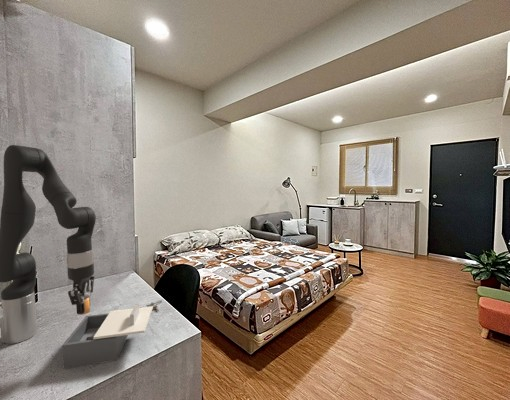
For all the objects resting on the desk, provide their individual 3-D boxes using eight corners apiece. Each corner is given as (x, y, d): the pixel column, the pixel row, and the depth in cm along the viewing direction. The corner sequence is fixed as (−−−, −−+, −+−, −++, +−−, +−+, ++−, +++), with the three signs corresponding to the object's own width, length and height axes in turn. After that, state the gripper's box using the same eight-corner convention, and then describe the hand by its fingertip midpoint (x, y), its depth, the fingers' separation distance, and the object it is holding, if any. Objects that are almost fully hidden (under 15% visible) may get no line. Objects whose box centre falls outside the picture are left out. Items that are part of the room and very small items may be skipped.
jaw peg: (75, 315, 84) (74, 296, 83) (80, 310, 87) (79, 291, 87) (87, 314, 85) (86, 294, 84) (91, 308, 88) (90, 290, 88)
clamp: (134, 317, 106) (128, 308, 113) (134, 322, 106) (128, 313, 113) (168, 306, 115) (161, 298, 123) (168, 310, 116) (161, 302, 123)
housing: (63, 368, 79) (61, 345, 78) (87, 334, 96) (86, 315, 96) (116, 360, 83) (115, 338, 82) (130, 329, 100) (129, 310, 100)
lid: (93, 339, 81) (92, 325, 81) (110, 312, 97) (110, 301, 97) (144, 332, 85) (144, 319, 84) (152, 308, 101) (152, 297, 101)
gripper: (78, 258, 91) (81, 302, 92) (56, 271, 77) (60, 323, 78) (100, 256, 92) (103, 299, 94) (82, 269, 79) (86, 319, 80)
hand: (83, 310), depth 86 cm, fingers closed on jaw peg, 3 cm apart
